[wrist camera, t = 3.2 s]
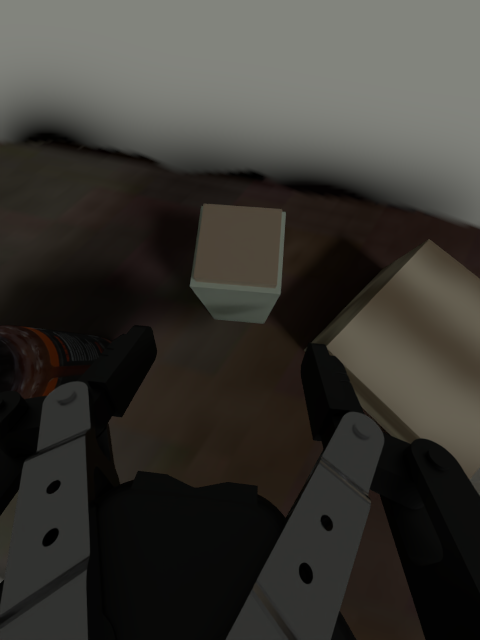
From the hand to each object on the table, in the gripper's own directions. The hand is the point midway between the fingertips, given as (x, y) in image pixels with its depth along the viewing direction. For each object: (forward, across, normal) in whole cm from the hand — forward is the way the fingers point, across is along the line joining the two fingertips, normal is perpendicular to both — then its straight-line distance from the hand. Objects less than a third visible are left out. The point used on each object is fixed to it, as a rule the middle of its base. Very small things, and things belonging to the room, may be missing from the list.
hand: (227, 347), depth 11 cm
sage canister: (+11, 0, +3) cm, 12 cm away
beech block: (+8, -15, +6) cm, 18 cm away
